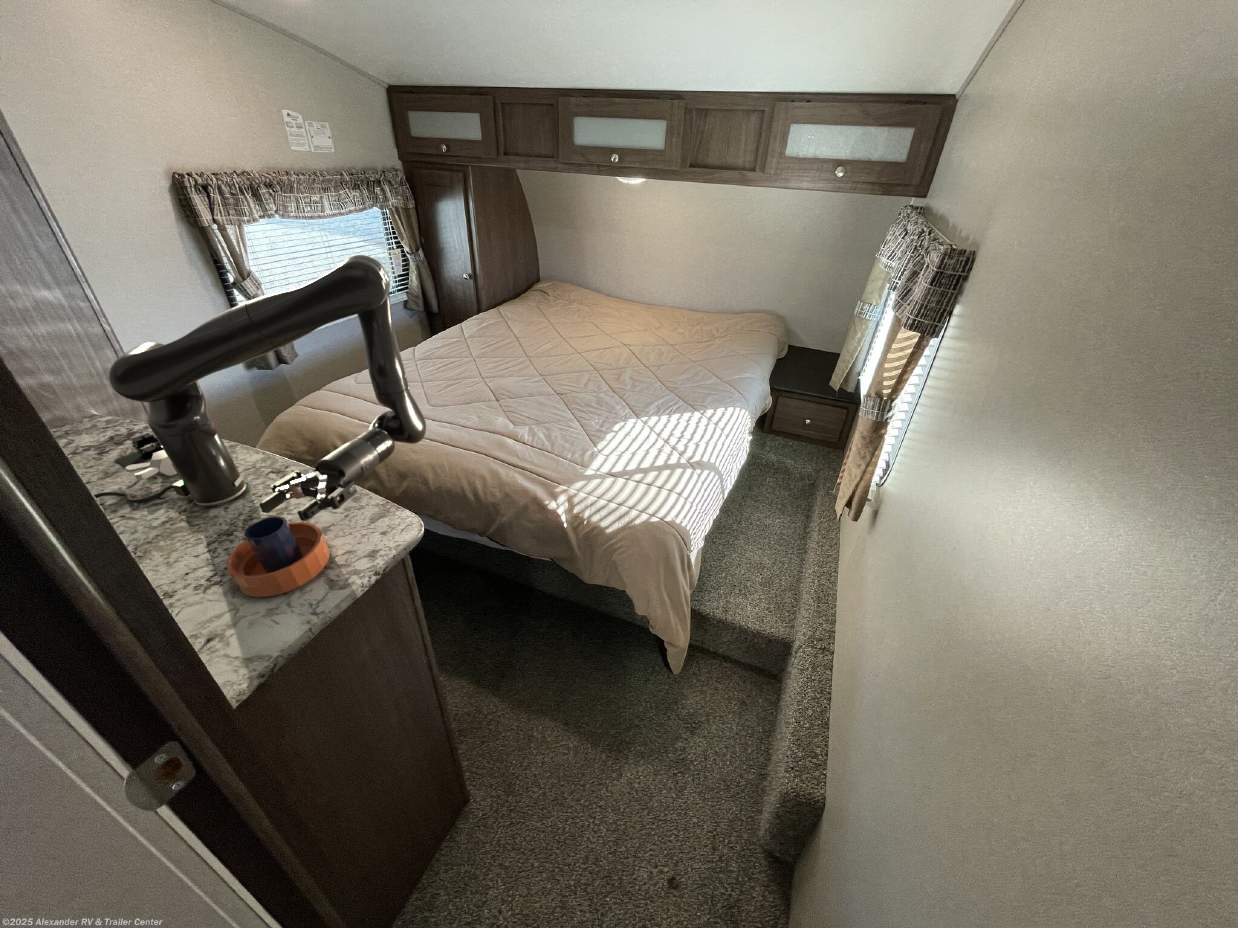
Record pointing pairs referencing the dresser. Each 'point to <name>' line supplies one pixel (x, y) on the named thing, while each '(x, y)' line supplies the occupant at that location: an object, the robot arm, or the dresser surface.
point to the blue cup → (273, 543)
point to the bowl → (260, 584)
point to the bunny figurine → (153, 466)
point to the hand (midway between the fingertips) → (281, 512)
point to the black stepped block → (141, 450)
